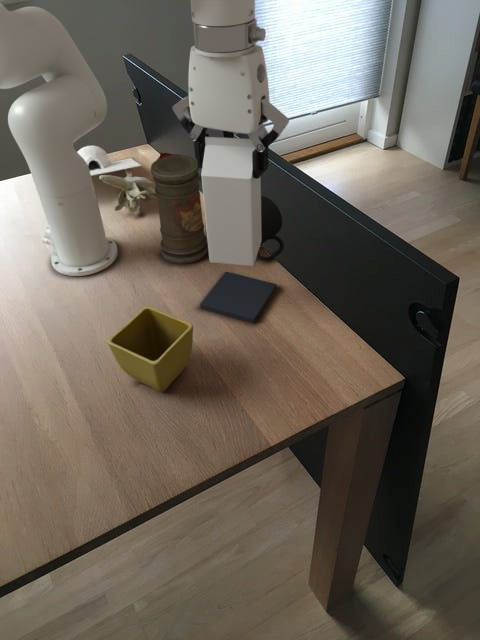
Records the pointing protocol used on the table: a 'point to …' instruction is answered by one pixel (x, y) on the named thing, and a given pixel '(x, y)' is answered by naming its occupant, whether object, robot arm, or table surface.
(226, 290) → the slate mat
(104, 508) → the table surface
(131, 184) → the pale green plant
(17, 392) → the table surface
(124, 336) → the flower pot
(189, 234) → the container
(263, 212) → the mug
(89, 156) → the igloo
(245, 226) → the milk carton
